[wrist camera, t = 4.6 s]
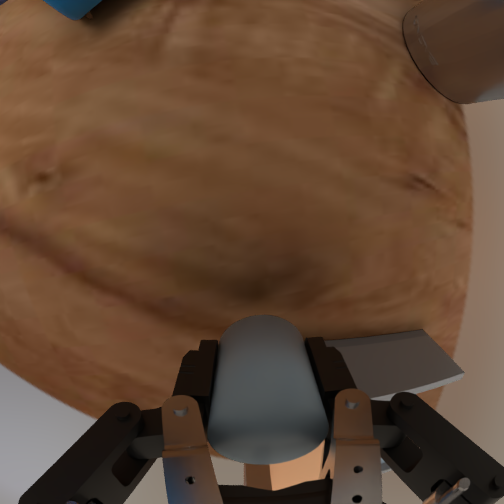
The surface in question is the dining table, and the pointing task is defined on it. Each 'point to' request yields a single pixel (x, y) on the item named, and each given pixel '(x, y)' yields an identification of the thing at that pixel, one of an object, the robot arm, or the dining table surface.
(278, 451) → the blue-grey rounded cylinder
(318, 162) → the dining table surface
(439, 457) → the robot arm
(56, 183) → the dining table surface
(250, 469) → the lid
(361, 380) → the housing
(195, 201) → the dining table surface
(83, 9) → the alarm clock
